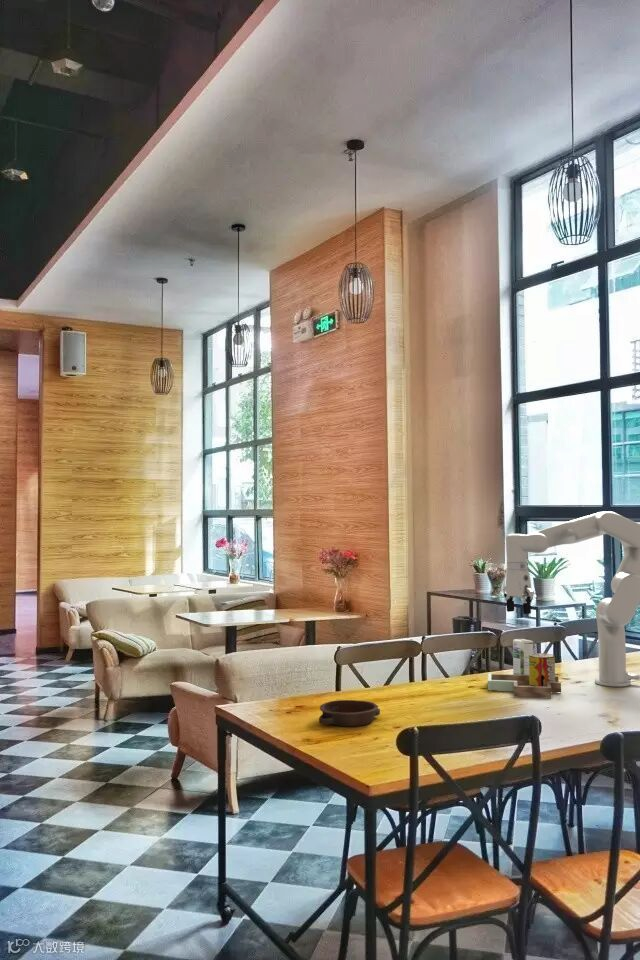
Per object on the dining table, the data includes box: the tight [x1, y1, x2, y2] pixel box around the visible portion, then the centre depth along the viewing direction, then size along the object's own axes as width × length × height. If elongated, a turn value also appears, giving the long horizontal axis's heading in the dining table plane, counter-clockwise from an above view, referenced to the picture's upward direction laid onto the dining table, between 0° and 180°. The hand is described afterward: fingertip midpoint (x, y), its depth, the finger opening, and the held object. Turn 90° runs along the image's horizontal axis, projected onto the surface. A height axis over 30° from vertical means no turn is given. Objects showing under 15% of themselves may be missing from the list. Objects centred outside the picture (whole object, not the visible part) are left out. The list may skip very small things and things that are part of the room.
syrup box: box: [512, 638, 534, 675], centre depth 309 cm, size 6×6×14 cm
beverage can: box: [529, 652, 556, 687], centre depth 288 cm, size 9×9×12 cm
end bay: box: [487, 672, 517, 692], centre depth 291 cm, size 10×14×4 cm
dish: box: [318, 699, 381, 728], centre depth 242 cm, size 18×22×5 cm
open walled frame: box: [491, 673, 562, 698], centre depth 285 cm, size 24×22×4 cm
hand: (518, 612), depth 299 cm, fingers open, 9 cm apart
